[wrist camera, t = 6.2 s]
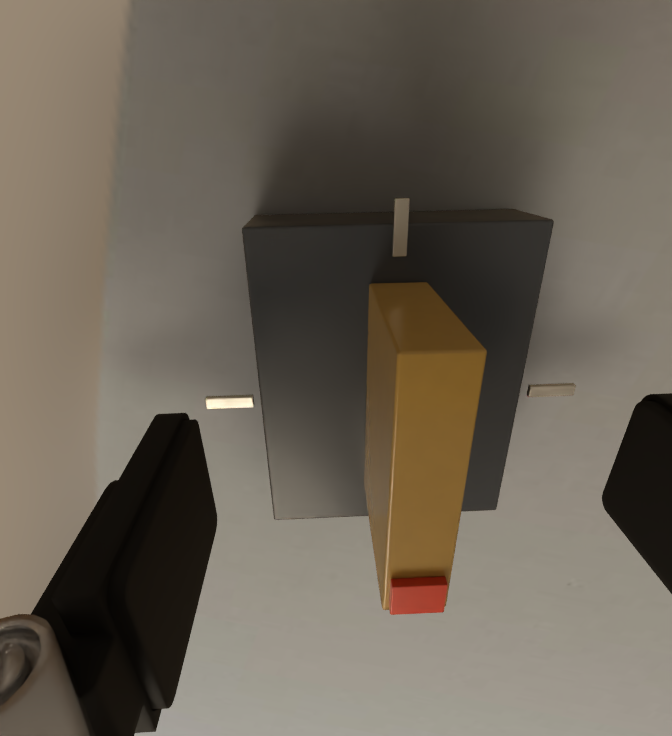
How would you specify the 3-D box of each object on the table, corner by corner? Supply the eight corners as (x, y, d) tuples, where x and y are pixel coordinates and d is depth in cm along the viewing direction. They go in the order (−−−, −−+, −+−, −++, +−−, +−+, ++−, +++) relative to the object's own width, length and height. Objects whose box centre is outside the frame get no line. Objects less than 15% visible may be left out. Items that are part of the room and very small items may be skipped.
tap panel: (197, 194, 13) (170, 204, 10) (570, 186, 13) (627, 193, 11) (241, 486, 18) (229, 538, 15) (509, 475, 18) (538, 524, 16)
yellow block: (368, 282, 11) (400, 357, 7) (427, 281, 11) (494, 355, 7) (363, 485, 15) (383, 620, 10) (410, 483, 15) (449, 618, 10)
